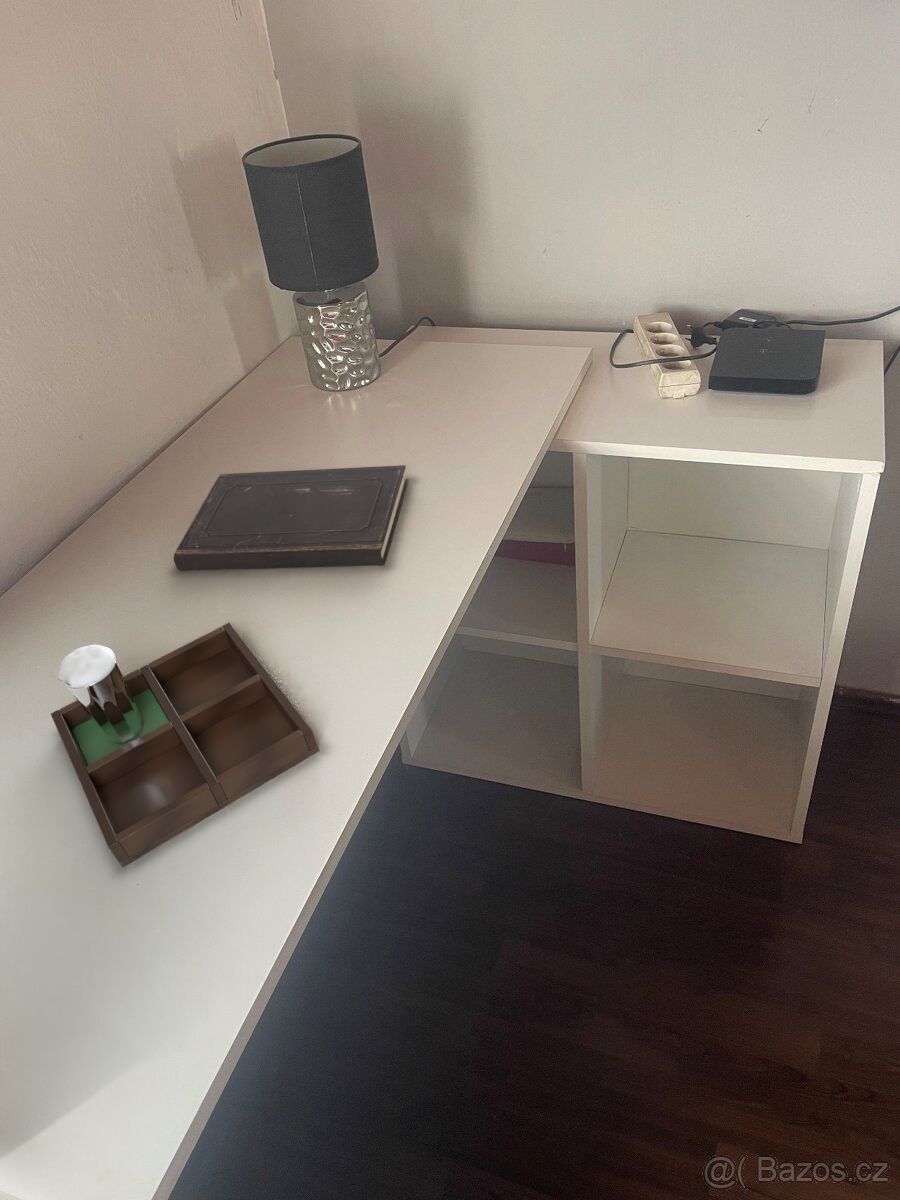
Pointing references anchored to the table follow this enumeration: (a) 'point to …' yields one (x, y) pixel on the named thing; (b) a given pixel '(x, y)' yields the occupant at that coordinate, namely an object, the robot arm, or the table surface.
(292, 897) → the table surface
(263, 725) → the grid
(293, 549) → the hardcover book
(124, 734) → the milkshake
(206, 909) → the table surface
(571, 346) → the table surface
